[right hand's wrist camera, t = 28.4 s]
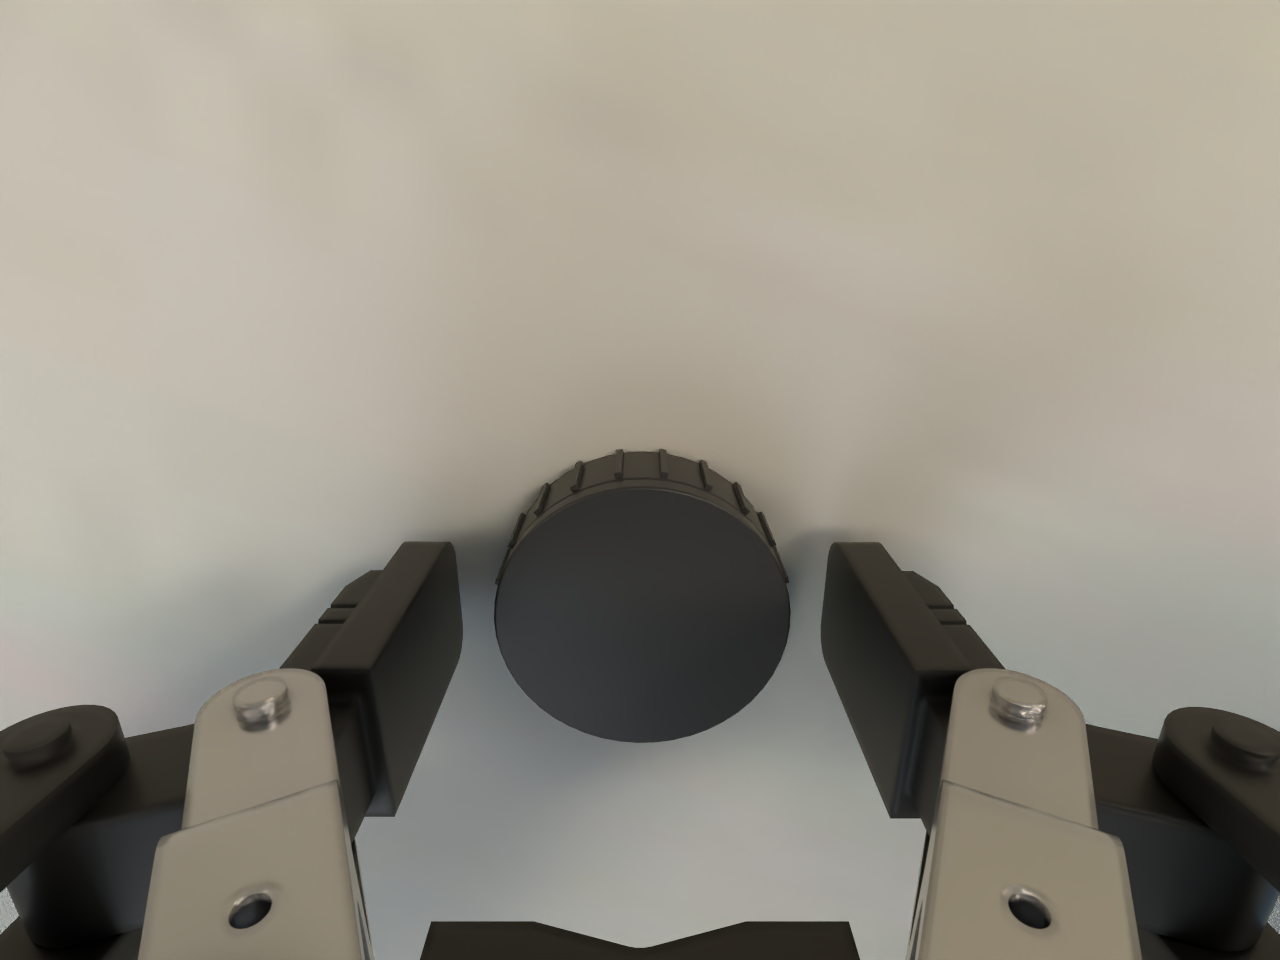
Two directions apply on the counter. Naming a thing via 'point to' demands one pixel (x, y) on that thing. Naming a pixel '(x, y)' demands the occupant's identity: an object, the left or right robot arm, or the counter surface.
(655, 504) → the lid
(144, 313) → the counter surface
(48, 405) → the counter surface
